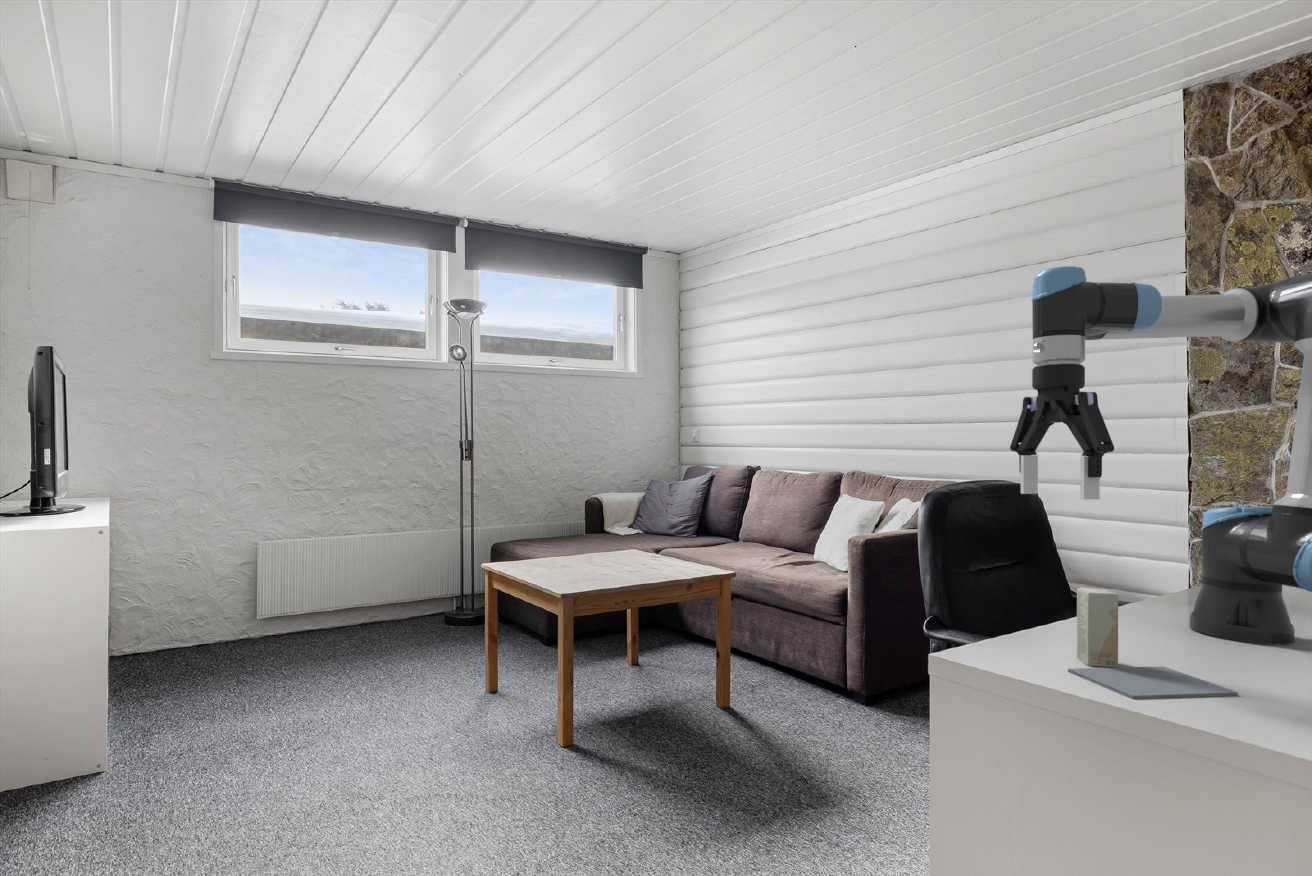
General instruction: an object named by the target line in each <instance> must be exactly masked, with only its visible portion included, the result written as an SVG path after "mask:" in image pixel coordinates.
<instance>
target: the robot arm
mask: <svg viewBox="0 0 1312 876" xmlns="http://www.w3.org/2000/svg"><path fill="white" fill-rule="evenodd" d="M1032 283H1033V284H1032V294H1031V302H1032V303H1031V305H1032V306H1031V307H1032V308H1031V309H1032V363H1033V364H1035V365H1036V366H1034V367H1033V368H1032V370H1031V371H1032V373H1031V375H1032V376H1031V377H1032V378H1031V380H1032V381H1031V387H1032V389H1034V390H1036V391H1037V395H1036V396H1024V397H1023V399H1022V408H1021V409H1022V410H1021V413H1020V416H1019V419H1018V422H1017V425H1016V428H1015V431H1014V434H1013V436H1012V440H1011V444H1010V446H1009V449H1010V451H1012V452H1016V453H1017V455H1018V456H1019V466H1018V467H1019V474H1020V494H1022V495H1038V494H1039V493H1038V490H1039V489H1038V488H1039V487H1038V485H1039V483H1038V482H1039V478H1038V476H1039V475H1038V474H1039V472H1038V471H1039V464H1038V463H1039V462H1038V461H1039V455H1038V453H1037V451H1036V450H1037V449H1038V447H1039V445H1040V444H1041V442H1042V441H1043V439H1044V437H1045V435H1046V433H1047V432H1048V430H1049V428H1050V427H1051V426H1053V425H1055V423H1056V424H1057V423H1063V424H1065V425H1066V426H1067V428H1068V430H1069V431H1070V433H1071V434H1072V435H1073V437H1074V438H1075V441H1077V443H1078V445H1079V446H1080V448H1081V450H1082V451H1083V452H1082V454H1080V455H1081V456H1080V457H1079V458H1080V467H1079V468H1080V469H1079V470H1080V473H1079V475H1080V477H1079V478H1080V483H1079V485H1080V489H1079V491H1080V492H1079V495H1080V497H1079V498H1080V499H1079V500H1100V498H1101V496H1100V494H1101V493H1100V490H1101V489H1100V483H1101V482H1100V478H1102V475H1103V456H1104V455H1105V454H1108V453H1112V452H1114V451H1115V445H1114V444H1113V440H1112V438H1111V434H1110V433H1109V431H1108V427H1107V425H1106V423H1105V422H1106V421H1104V417H1103V415H1102V412H1101V409H1100V407H1099V400H1098V393H1097V392H1095V391H1080V389H1081V390H1082V389H1083V388H1085V385H1086V367H1085V366H1084V365H1083V364H1082V363H1084V361H1086V341H1098V340H1126V339H1127V340H1129V339H1133V340H1135V339H1169V338H1171V339H1172V338H1203V337H1207V338H1208V337H1220V338H1221V339H1222V340H1224V341H1227V342H1255V343H1256V342H1257V343H1258V342H1260V343H1286V344H1287V343H1291V344H1293V346H1294V347H1295V348H1296V349H1297V350H1299V351H1300V352H1301V353H1302V355H1303V362H1302V369H1301V376H1300V384H1299V385H1300V386H1299V393H1298V399H1297V408H1296V415H1295V423H1294V431H1293V438H1292V446H1291V454H1290V460H1289V467H1288V469H1289V470H1288V475H1287V476H1288V477H1287V484H1286V492H1285V494H1284V496H1283V497H1281V498H1279V499H1278V500H1276V501H1274V502H1273V503H1272V506H1230V507H1229V506H1228V507H1226V506H1225V507H1215V508H1210V509H1208V510H1206V511H1205V512H1204V513H1203V517H1202V527H1200V532H1201V588H1200V591H1199V593H1198V595H1197V598H1196V601H1195V604H1194V607H1193V611H1191V612H1190V614H1189V625H1188V626H1189V628H1190V629H1191V630H1193V631H1195V632H1198V633H1200V634H1204V635H1208V636H1212V637H1217V638H1222V639H1228V640H1233V641H1239V642H1245V643H1255V644H1270V645H1272V644H1273V645H1283V644H1285V645H1286V644H1292V643H1294V642H1295V637H1296V636H1295V635H1296V633H1295V632H1296V631H1295V627H1294V625H1293V624H1292V622H1291V619H1290V616H1289V612H1288V608H1287V606H1286V603H1285V600H1284V598H1283V597H1284V595H1283V586H1287V587H1292V588H1296V589H1302V590H1305V591H1307V592H1311V593H1312V272H1308V273H1304V274H1300V275H1296V276H1291V277H1288V278H1284V279H1280V280H1277V281H1273V282H1270V283H1266V284H1262V285H1258V286H1251V287H1245V288H1243V287H1239V288H1231V289H1229V290H1227V291H1225V292H1224V293H1223V294H1222V293H1221V294H1192V295H1191V294H1190V295H1187V294H1186V295H1161V293H1160V291H1159V289H1158V288H1157V287H1156V286H1155V285H1152V284H1146V283H1137V282H1134V281H1133V282H1130V283H1129V282H1092V281H1087V276H1086V272H1085V269H1084V268H1082V267H1081V266H1080V267H1079V266H1078V267H1077V266H1075V265H1073V266H1072V265H1065V266H1055V267H1049V268H1044V269H1043V270H1040V271H1038V272H1037V273H1036V274H1035V275H1034V278H1033V282H1032Z"/></svg>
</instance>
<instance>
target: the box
mask: <svg viewBox="0 0 1312 876" xmlns="http://www.w3.org/2000/svg"><path fill="white" fill-rule="evenodd" d="M1076 590H1077V591H1076V658H1077V659H1078V660H1079V661H1080V662H1082V663H1084V664H1085V665H1087V666H1090V667H1092V666H1093V667H1101V668H1118V667H1119V594H1118V593H1115V592H1114V591H1111V590H1108V589H1105V588H1096V587H1095V588H1092V587H1077V588H1076Z"/></svg>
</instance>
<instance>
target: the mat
mask: <svg viewBox="0 0 1312 876" xmlns="http://www.w3.org/2000/svg"><path fill="white" fill-rule="evenodd" d="M1067 672H1068V673H1070V674H1073V675H1076V676H1078V677H1080V678H1083V679H1085V680H1087V681H1090V682H1092V683H1094V684H1097V685H1099V686H1101V687H1104V688H1106V689H1108V690H1111V691H1114V692H1116V693H1118V694H1121V695H1123V696H1126V697H1127V698H1130V699H1133V700H1134V699H1135V700H1136V699H1139V700H1140V699H1164V698H1165V699H1167V698H1196V697H1197V698H1199V697H1225V696H1226V697H1227V696H1228V697H1229V696H1239V692H1238V691H1236V690H1233V689H1231V688H1226V687H1223V686H1222V685H1218V684H1215V683H1212V682H1210V681H1206V680H1205V679H1201V678H1199V677H1196V676H1192V675H1189V674H1187V673H1183V672H1181V671H1178V670H1175V669H1172V668H1170V667H1167V666H1163V665H1161V666H1158V665H1157V666H1128V667H1127V666H1126V667H1125V666H1124V667H1121V666H1120V667H1119V666H1118V667H1086V668H1084V667H1083V668H1079V667H1078V668H1067Z"/></svg>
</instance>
